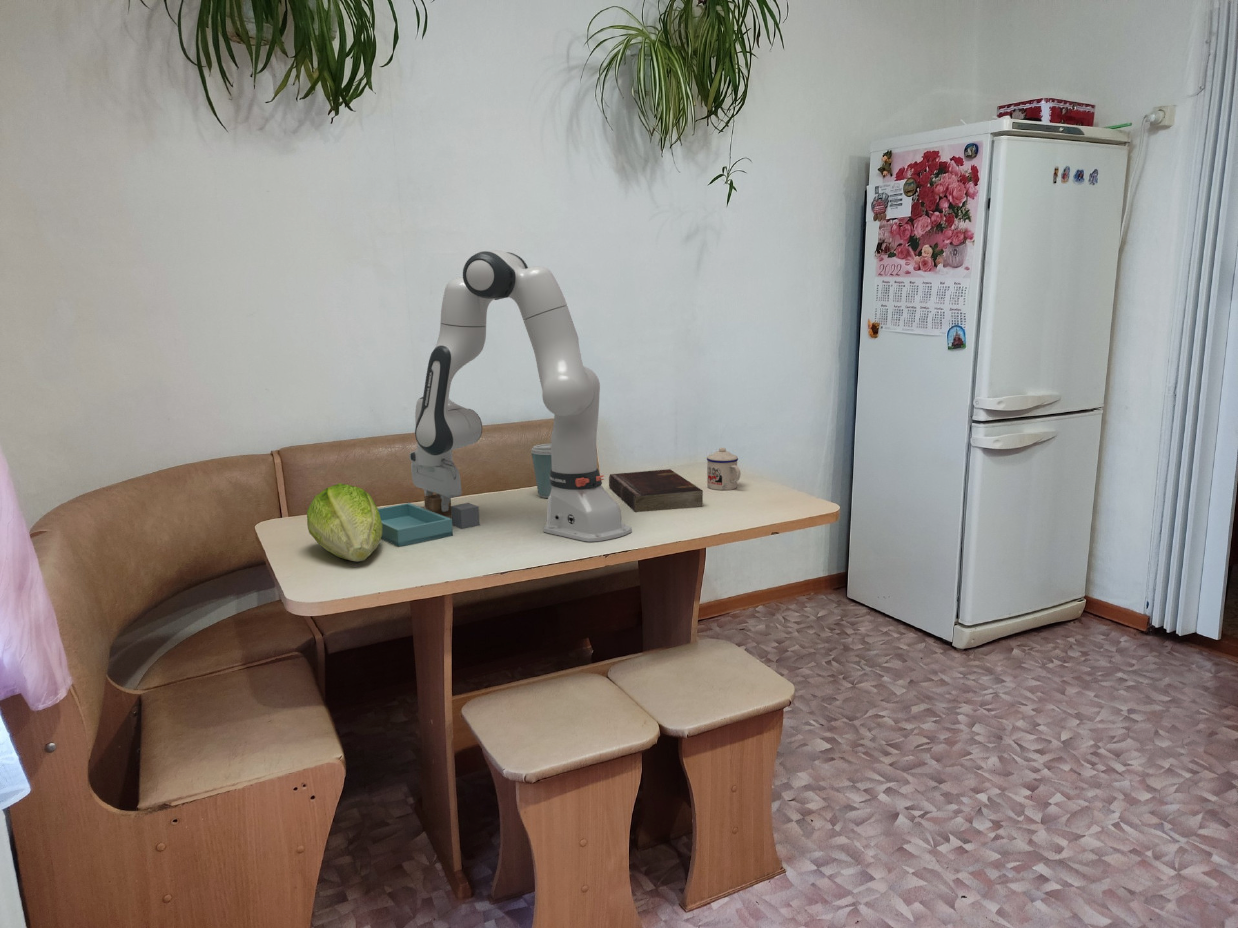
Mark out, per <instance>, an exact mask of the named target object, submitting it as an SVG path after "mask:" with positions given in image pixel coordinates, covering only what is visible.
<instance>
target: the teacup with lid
mask: <svg viewBox="0 0 1238 928" xmlns="http://www.w3.org/2000/svg"><path fill="white" fill-rule="evenodd" d="M706 460H707V462H706V463H707V468H706V469H707V473H706V474H707V476H706V477H707V479H706V484H707V485H706V487H707V488H708V489H710V490H715V491H731V490H735V489H736V488H737V487H738V482H739V480H740V478H741V469H740V468H739V466H738V460H739V458H738V456H737V455H736V454H733V453H731V452H730V451H727V449H726V448H725V447H719V449H718V450H717V451H715V452H714V453H711V454H709V455H707V457H706Z"/></svg>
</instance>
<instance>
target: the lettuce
mask: <svg viewBox="0 0 1238 928" xmlns="http://www.w3.org/2000/svg"><path fill="white" fill-rule="evenodd" d="M306 510H307V511H306V523H307V529H308V532H309V534H310V535H311V537H312V538H313V539H314V540H315V541H316V543H317V544H318V545H319V546H321V547H322V548H324V550H326V551H328V552H329V553H331V554H332V555H334V556H336V557H338V558H340V559H343V560H347V561H352V562H362V561H366V559H367V558H368V557H369V556H370V555H371V554H372V553H373V552H374V551H375V550H376V549H377V548H378V546H379V544H380V542H381V540H382V539H381V537H382V522H381V517H380V514H379V511H378V506H377V504H376V503H375V501H374V499H373V498H372V495H371V494H369V493H368V492H367V491H366V490H364V489H363V488H360V487H357V486H354V485H350V484H345V483H342V482H341V483H336V484H334V485H330V486H329V487H326V488H325V489H324V490H321V492H319V493H318V494H316V495H315V496H314V498H313V499H312V501H311V503H310V504H309V506H308V508H307V509H306Z"/></svg>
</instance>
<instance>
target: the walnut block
mask: <svg viewBox="0 0 1238 928" xmlns="http://www.w3.org/2000/svg"><path fill="white" fill-rule="evenodd" d="M423 498H424V499H423V500H424V509H427V510H429V511H432V512H434V513H437V514H440V515H442V516H445V517H448V516H451V506H452V498H451V499H450V502H449V504H448V507H449V510H448V511H445V512H443V511H441V510H440V504H441V502H442V499H441V495H439V494H436V493H434V494H433V495H429V496H425V495H424V496H423Z"/></svg>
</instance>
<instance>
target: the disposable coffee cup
mask: <svg viewBox="0 0 1238 928" xmlns="http://www.w3.org/2000/svg"><path fill="white" fill-rule="evenodd" d="M530 453H531V458H532V464H533V470H534V476H535V481H536V488H537V493H538V495H539V497H540V498H543V499H548V497H549V495H550V492H551V489H552V485H551V484H550V470H551V469H552V460H551V442H550V443H543V444H536V445H533V446H532V448H531V450H530Z"/></svg>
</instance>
